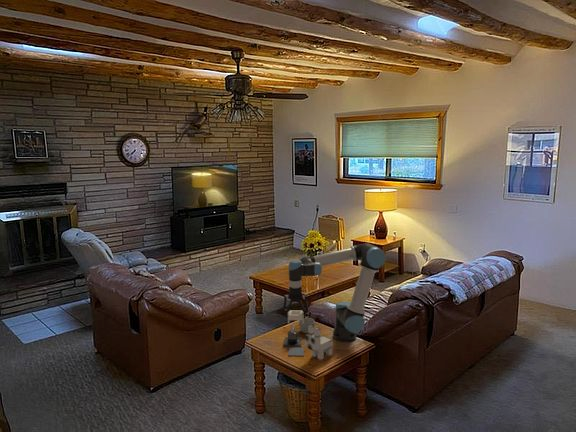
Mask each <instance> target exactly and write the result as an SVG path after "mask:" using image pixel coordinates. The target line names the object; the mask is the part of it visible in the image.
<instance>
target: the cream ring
mask: <svg viewBox="0 0 576 432" xmlns="http://www.w3.org/2000/svg"><path fill="white" fill-rule="evenodd" d="M288 312H289V321H299V320H302V312H303V310H302V309H301V310H300V309H299V310H297V309H296V310H295V309H294V310H293V309H292V310H291V309H289V311H288Z"/></svg>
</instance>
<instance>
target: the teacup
mask: <svg viewBox="0 0 576 432" xmlns="http://www.w3.org/2000/svg"><path fill="white" fill-rule="evenodd" d="M297 321H298V329H299V331H300V332H301V333H302V334H308V326H309V325H314V328H316V327H315V321H316V320H315V319H314V318H311V317H308V316H306V318H304V324H302V320H297Z"/></svg>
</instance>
